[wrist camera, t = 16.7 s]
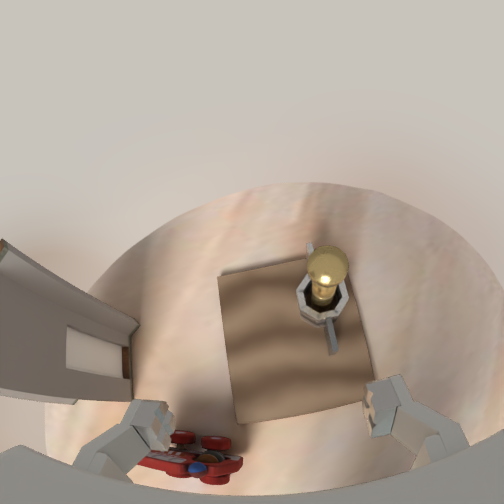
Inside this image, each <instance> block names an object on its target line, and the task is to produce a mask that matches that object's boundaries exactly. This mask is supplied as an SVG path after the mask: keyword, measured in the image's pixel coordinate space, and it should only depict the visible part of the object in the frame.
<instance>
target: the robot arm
mask: <svg viewBox="0 0 504 504" xmlns="http://www.w3.org/2000/svg"><path fill="white" fill-rule="evenodd" d="M363 390H364V394H365V395H364V396H363V400H362V404H363V412H364V416H365V418H366V419H367V420H368V423H367V428H368V431H369V435H370V438H375V437H379V436H384V435H388V434H391V436H393V437H394V438H395V439H396V440H397V441H399V442H400V443H401V444H402V445H404V446H405V447H406V448H407V449H408V450H410V451H411V452H412V453H413V454H415V455H416V456H417V457H416V459H415V461H414V463H413V465H412V467H411V469H410V471H407V472H404V473H400V474H397V475H394V476H390V477H386V478H383V479H379V480H375V481H371V482H366V483H362V484H357V485H352V486H347V487H342V488H336V489H330V490H323V491H315V492H307V493H297V494H285V495H264V496H232V495H211V494H199V493H189V492H180V491H173V490H166V489H160V488H154V487H149V486H144V485H139V484H134V483H133V481H132V480H131V479H130V478H129V477H128V476H127V475H126V474H127V473H128V472H129V471H130V470H131V469H132V468H133V467H134V466H135V465H137V464H138V463H139V462H140V461H141V460H142V459H143V458H144V457H145V456H146V455H147V454H148V453H149V452H150V451H151V450H158V451H168V449H169V446H170V443H171V438H170V435H171V434H173V433H174V431H175V427H176V421H175V417H174V415H173V413H172V412H170V411H169V410H168V407H169V406H168V405H167V403H166V402H165V401H155V400H142V399H134V400H132V401H131V403H130V405H129V407H128V409H127V411H126V413H125V415H124V417H123V419H122V421H121V423H120V424H116V425H115V426H113V427H112V428H110V429H109V430H107V431H106V432H104V433H103V434H101V435H100V436H98V437H97V438H95V439H94V440H92V441H91V442H89V443H87V444H86V445H84V446H83V447H82V448H81V450H80V452H79V453H78V455H77V457H76V459H75V461H74V463H73V465H69V464H66V463H63V462H61V461H58V460H56V459H53V458H51V457H49V456H46V455H44V454H42V453H39V452H37V451H35V450H33V449H30V448H28V447H26V446H23V445H18V446H15V447H13V448H10V449H8V450H6V451H4V452H3V453H0V504H504V429H502V430H501V431H499V432H497V433H495V434H494V435H492V436H490V437H488V438H486V439H484V440H482V441H480V442H478V443H476V444H474V445H472V446H470V445H469V443H468V441H467V439H466V437H465V435H464V433H463V431H462V429H461V427H460V425H459V424H458V423H456V422H454V421H452V420H451V419H449V418H447V417H445V416H443V415H441V414H439V413H438V412H436V411H434V410H432V409H430V408H429V407H427V406H425V405H423V404H421V403H420V402H418V401H416V402H414V401H413V399H412V397H411V395H410V393H409V390H408V388H407V386H406V384H405V382H404V380H403V378H402V376H401V375H396V376H392V377H388V378H384V379H380V380H376V381H372V382H367V383H364V387H363Z"/></svg>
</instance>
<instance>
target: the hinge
mask: <svg viewBox="0 0 504 504" xmlns="http://www.w3.org/2000/svg"><path fill="white" fill-rule="evenodd" d="M313 251H314V249H313V245H312V243H307V262H308V258H309V256H310V254H311V253H312V252H313ZM310 291H312V280H311V279H310V277H309V275H308V274H307V275H306V276H305V278H304V279H303V281H302V282H301V283H300V285H299V286H298V288H297V289H296V295H297V303H298V308H299V313H300V318H301V319H302V320H304V321H305V322H307V323H309V324H310V325H312V326H313V327H315V328H320V327H323V329H324V334H325V338H326V343H327V348H328V352H329V356H332V355H335V354H336V353H337V352H338V351H339V349H338V345H337V340H336V336H335V331H334V327H333V324H335V322H336V321H337V319H338V317H339V316H340V314H341V313H342V311H343V309H344V308H345V305H346V303H347V301H348V299H349V296H348V293H347V289H346V285H345V282H344V280H343V281H342V282H341V283H340V284H338V285H337V287H336V290H335V294H334V295H335V299H336V302H337V306H336V308H335V310H332V311H327V312H323V313H318V312H316V311H315V310H313V309H311V308H310V307H308V306H306V302H305V299H306V297H307V296H308V294H309V293H310Z"/></svg>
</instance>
